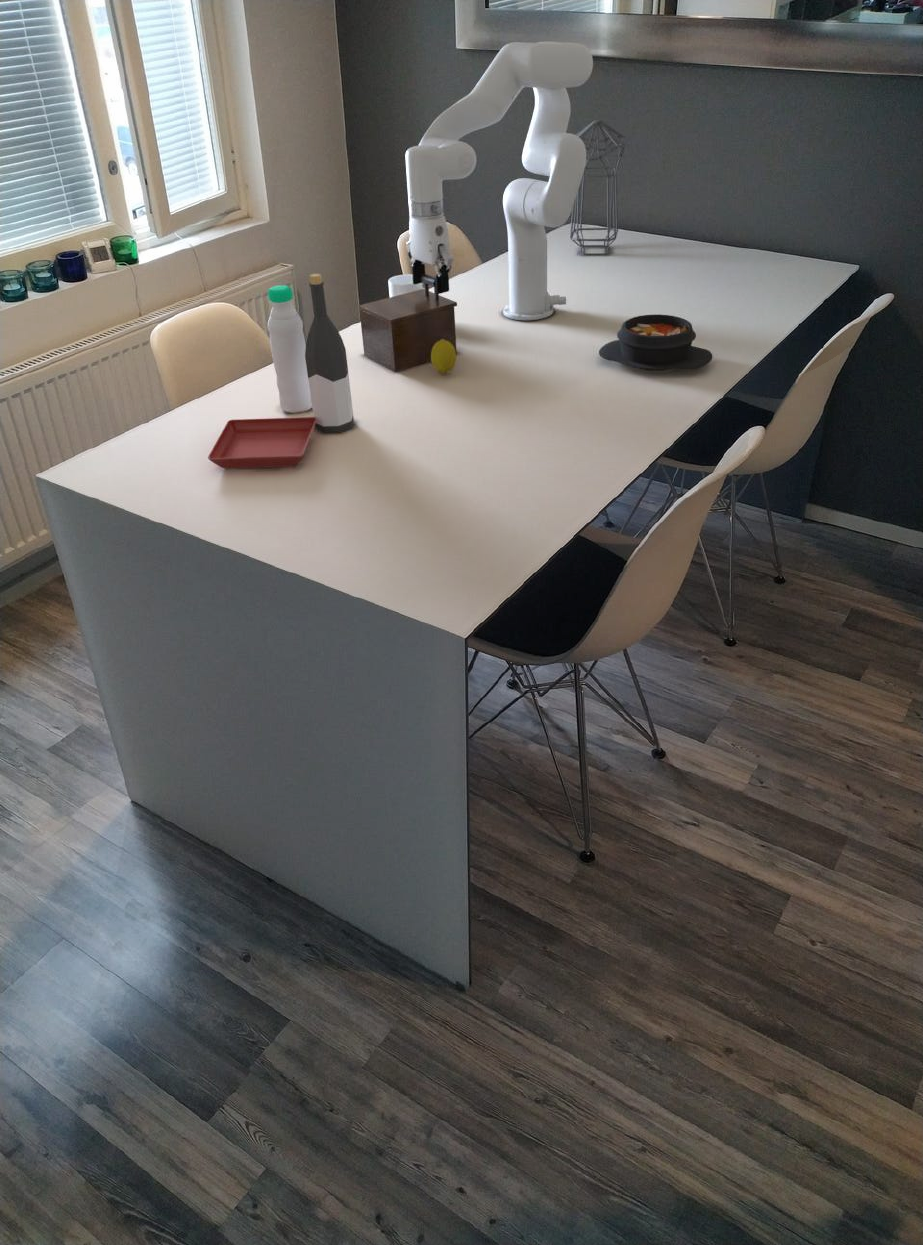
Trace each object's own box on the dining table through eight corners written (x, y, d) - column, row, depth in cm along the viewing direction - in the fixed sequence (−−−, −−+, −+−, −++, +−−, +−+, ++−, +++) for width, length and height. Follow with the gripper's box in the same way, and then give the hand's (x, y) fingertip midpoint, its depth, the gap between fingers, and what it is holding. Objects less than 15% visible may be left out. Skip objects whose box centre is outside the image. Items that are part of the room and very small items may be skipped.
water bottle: (319, 402, 214) (303, 283, 200) (305, 415, 209) (287, 294, 194) (290, 399, 216) (272, 281, 202) (274, 412, 211) (254, 292, 197)
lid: (423, 292, 238) (422, 267, 234) (457, 305, 228) (455, 280, 225) (359, 308, 230) (356, 284, 226) (391, 323, 220) (388, 298, 217)
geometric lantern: (565, 258, 293) (567, 126, 273) (570, 243, 306) (571, 116, 285) (620, 258, 290) (626, 124, 270) (622, 243, 303) (628, 114, 283)
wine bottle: (361, 420, 205) (345, 270, 188) (341, 436, 200) (322, 283, 182) (328, 415, 208) (308, 267, 191) (307, 430, 203) (285, 279, 185)
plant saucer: (231, 433, 203) (228, 418, 201) (319, 431, 202) (317, 415, 200) (209, 474, 188) (206, 458, 186) (305, 472, 187) (303, 455, 185)
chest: (424, 338, 243) (420, 293, 237) (456, 353, 234) (454, 306, 228) (364, 355, 236) (359, 309, 230) (395, 371, 226) (391, 324, 220)
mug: (442, 320, 254) (440, 278, 248) (423, 330, 248) (420, 288, 242) (405, 313, 260) (402, 272, 254) (385, 322, 254) (381, 281, 248)
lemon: (431, 370, 226) (429, 335, 221) (456, 368, 226) (454, 333, 222) (432, 380, 221) (430, 344, 217) (457, 378, 222) (456, 342, 217)
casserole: (720, 354, 226) (724, 317, 221) (699, 384, 212) (703, 345, 207) (613, 342, 235) (615, 306, 230) (586, 370, 222) (587, 333, 217)
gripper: (463, 212, 216) (466, 292, 226) (419, 199, 228) (423, 276, 238) (433, 218, 213) (438, 299, 222) (390, 204, 224) (396, 282, 234)
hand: (430, 287), depth 230 cm, fingers open, 9 cm apart
